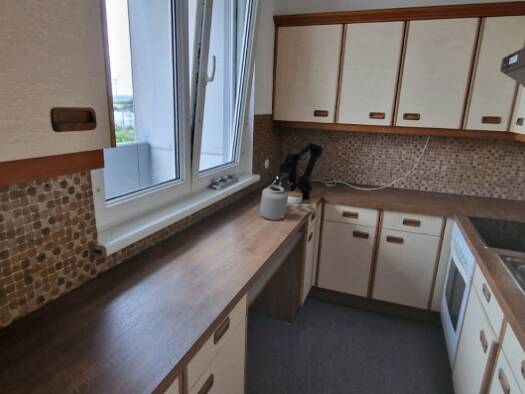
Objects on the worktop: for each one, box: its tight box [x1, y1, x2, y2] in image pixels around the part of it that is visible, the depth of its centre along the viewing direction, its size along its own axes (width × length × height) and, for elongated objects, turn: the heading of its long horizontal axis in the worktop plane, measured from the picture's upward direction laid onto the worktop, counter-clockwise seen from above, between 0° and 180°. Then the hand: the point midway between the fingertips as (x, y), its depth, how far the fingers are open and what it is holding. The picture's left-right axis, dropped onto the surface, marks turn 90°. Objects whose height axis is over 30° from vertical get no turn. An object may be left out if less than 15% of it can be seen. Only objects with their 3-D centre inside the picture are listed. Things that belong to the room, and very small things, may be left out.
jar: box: [259, 176, 288, 221], centre depth 201 cm, size 19×15×25 cm
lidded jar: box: [286, 190, 303, 204], centre depth 233 cm, size 11×11×9 cm
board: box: [285, 203, 317, 213], centre depth 220 cm, size 20×3×4 cm, turn 100°
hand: (291, 194), depth 240 cm, fingers closed
